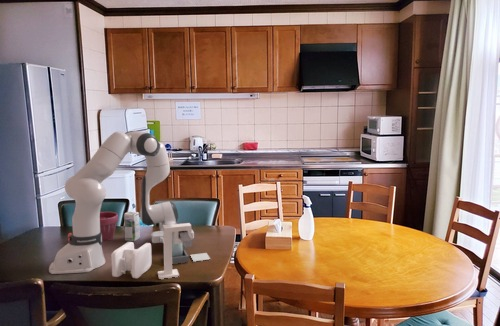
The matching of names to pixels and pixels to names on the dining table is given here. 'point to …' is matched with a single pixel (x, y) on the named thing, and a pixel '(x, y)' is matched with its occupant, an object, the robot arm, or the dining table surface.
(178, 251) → the pale blue bottle
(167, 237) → the stand
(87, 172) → the robot arm
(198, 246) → the dining table surface
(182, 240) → the bolt
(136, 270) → the cable organizer
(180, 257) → the socket collar
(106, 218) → the plant pot
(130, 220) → the syrup box
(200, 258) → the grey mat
